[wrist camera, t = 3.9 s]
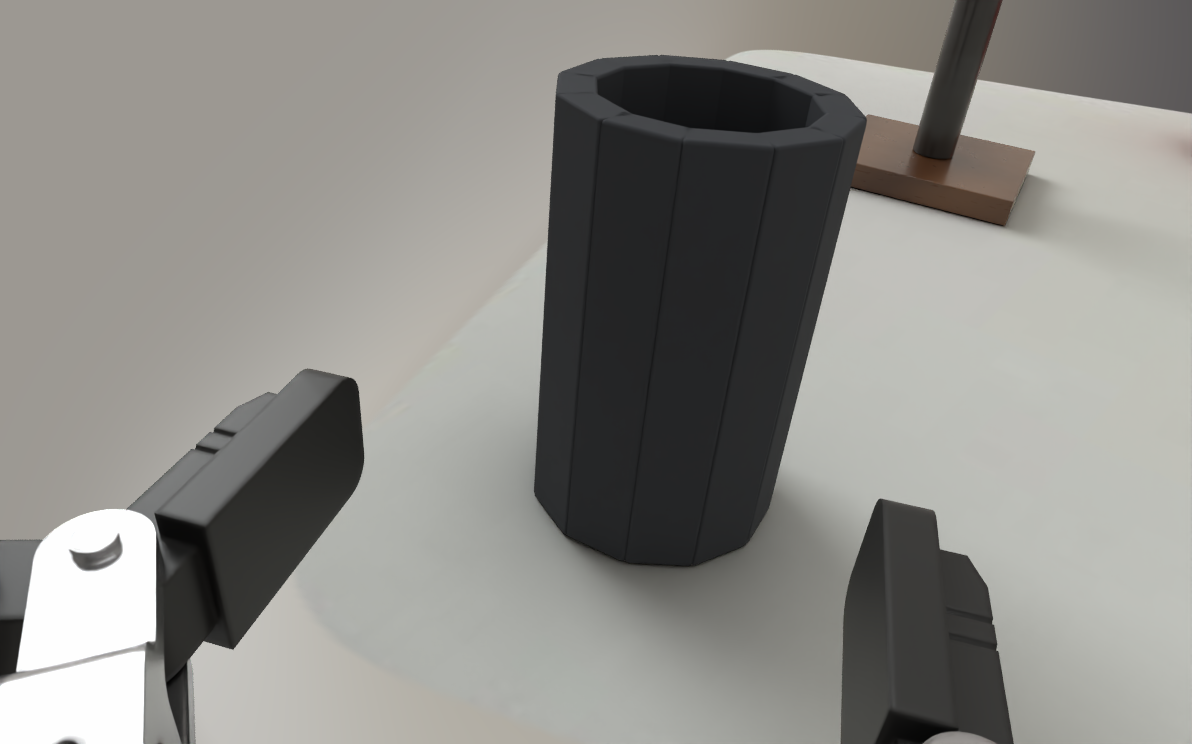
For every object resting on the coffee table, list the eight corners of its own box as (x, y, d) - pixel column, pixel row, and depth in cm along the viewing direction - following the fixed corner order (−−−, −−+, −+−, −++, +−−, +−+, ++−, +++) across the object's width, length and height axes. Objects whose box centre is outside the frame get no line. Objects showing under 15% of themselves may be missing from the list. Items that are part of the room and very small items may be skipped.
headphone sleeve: (488, 500, 21) (496, 93, 16) (605, 389, 26) (642, 41, 20) (711, 605, 19) (808, 171, 14) (796, 463, 24) (895, 94, 18)
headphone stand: (815, 178, 43) (879, -100, 36) (862, 135, 50) (924, -107, 43) (1004, 226, 40) (1113, -71, 33) (1027, 173, 46) (1121, -83, 40)
